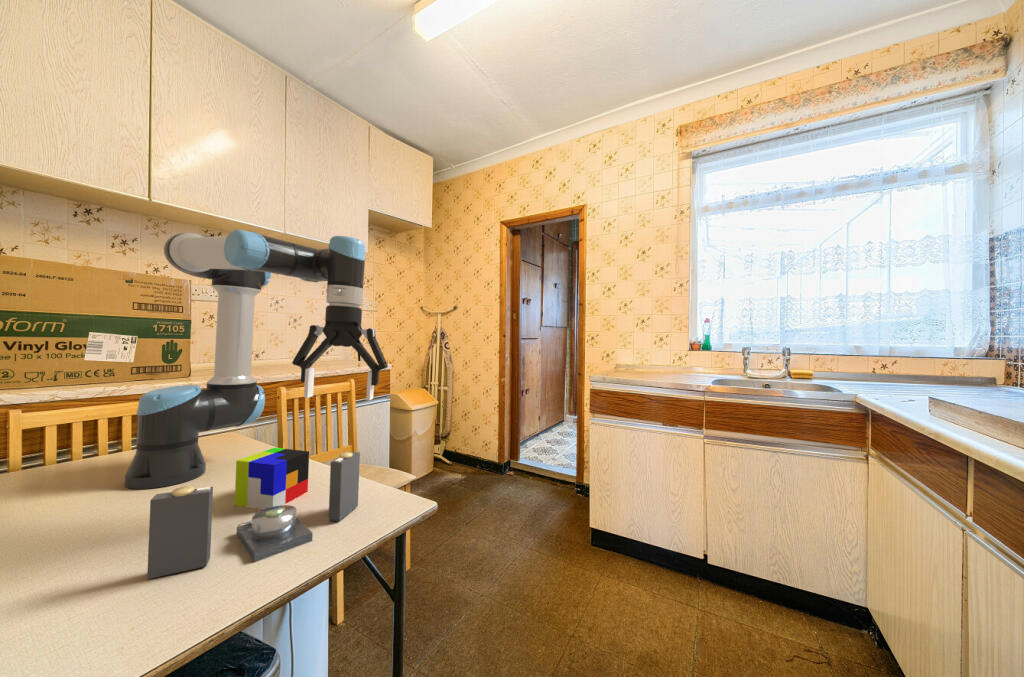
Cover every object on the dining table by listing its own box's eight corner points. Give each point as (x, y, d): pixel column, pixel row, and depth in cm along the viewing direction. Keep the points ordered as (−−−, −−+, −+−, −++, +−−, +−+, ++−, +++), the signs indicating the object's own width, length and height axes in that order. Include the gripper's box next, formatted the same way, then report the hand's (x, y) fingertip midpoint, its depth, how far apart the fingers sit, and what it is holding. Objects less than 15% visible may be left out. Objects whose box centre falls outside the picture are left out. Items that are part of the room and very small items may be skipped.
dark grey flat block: (146, 579, 54) (150, 496, 54) (153, 569, 56) (157, 490, 57) (206, 566, 58) (209, 488, 58) (210, 557, 60) (213, 482, 60)
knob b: (347, 504, 80) (349, 448, 80) (358, 505, 80) (360, 449, 80) (328, 520, 73) (330, 458, 73) (339, 521, 73) (342, 459, 73)
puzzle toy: (272, 511, 77) (274, 465, 77) (234, 505, 79) (236, 460, 79) (307, 492, 87) (309, 451, 87) (273, 487, 89) (274, 447, 89)
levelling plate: (236, 535, 67) (237, 507, 67) (289, 518, 74) (290, 492, 74) (254, 562, 60) (255, 530, 60) (312, 540, 66) (313, 512, 66)
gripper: (278, 300, 77) (272, 398, 77) (396, 308, 79) (390, 403, 79) (296, 303, 84) (291, 393, 84) (403, 310, 86) (398, 397, 86)
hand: (339, 398), depth 82 cm, fingers open, 13 cm apart
